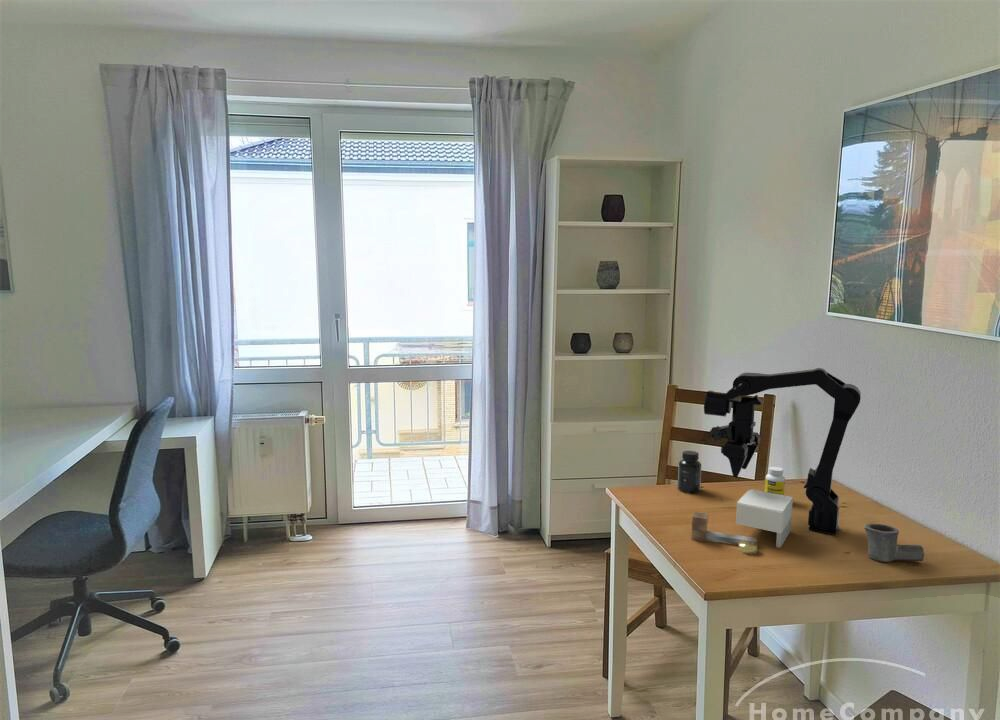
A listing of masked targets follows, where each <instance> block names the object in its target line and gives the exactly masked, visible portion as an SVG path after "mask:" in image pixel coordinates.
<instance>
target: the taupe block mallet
mask: <svg viewBox="0 0 1000 720" xmlns="http://www.w3.org/2000/svg"><path fill="white" fill-rule="evenodd" d="M691 518H692V520H691V521H692V522H691V536H690V537H691V540H692V541H699V542H706V541H707V542H714V543H719V542H722V543H721V544H726V543H727V544H728V545H733V544H734V545H733V546H738V543H739V542H740V541H751V542H754V543H756V544H757V538H756V537H751V536H743V535H738V534H737V535H736V534H732V533H724V532H717V531H711V530H708V518H709V513H706V512H700V511H699V512H698V511H693V514H692V517H691ZM727 544H726V545H727Z"/></svg>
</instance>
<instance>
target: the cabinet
mask: <svg viewBox="0 0 1000 720" xmlns="http://www.w3.org/2000/svg"><path fill="white" fill-rule="evenodd" d="M793 501H794V496H789V495H785V494H784V495H779V494H773V493H768V492H765V491H762V490H756V489H752V488H751V489H750V488H749V489H748V490H747V491H746V492H745V493H744V494H743V495H742V496H741V497H740V498H739V499H738V500H737V502H736V514H735V515H736V516H735V518H736V519H735V524H737V525H740V526H745V527H746V526H747V527H749V528H750V527H751V528H756V529H758V530H759V529H760V530H764V531H769V532H773V533H776V543H775V548H778V547H779V549H780V547H782V545H784V543H785V541H786V539H787V538H788V536H789V535H790V533H791V528H792V515H793Z"/></svg>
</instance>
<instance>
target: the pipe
mask: <svg viewBox="0 0 1000 720" xmlns="http://www.w3.org/2000/svg"><path fill="white" fill-rule="evenodd" d="M863 527H864V531H865V533H866V537H867V544H868V545H867V546H868V552H867V553H868V556H869V558H871V559H872V560H874V561H877V562H883V563H891V562H892V561H902V562H903V561H904V562H922V561H923V560H924V558H925V551H924V548H923V546H922V545H920V544H898V536H899V533H900V530H899V529H898V528H896V527H894V526H891V525H887V524H883V523H882V524H881V523H868V524H865V525H863Z"/></svg>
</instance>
